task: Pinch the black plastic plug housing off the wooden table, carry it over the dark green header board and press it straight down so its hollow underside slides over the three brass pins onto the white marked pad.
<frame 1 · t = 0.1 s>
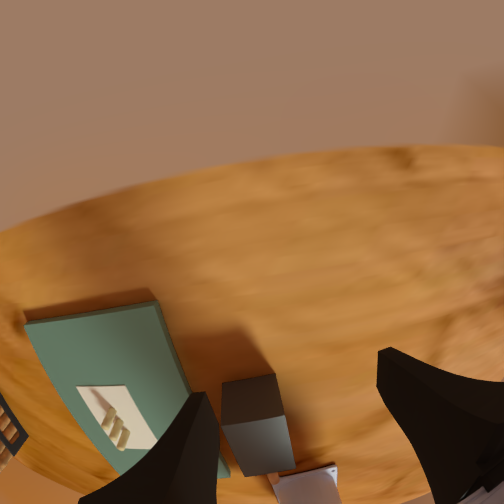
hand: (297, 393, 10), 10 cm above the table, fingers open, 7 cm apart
plug housing: (257, 409, 22), on the table
header board: (131, 413, 22), on the table
ammunition clip: (7, 407, 22), on the table
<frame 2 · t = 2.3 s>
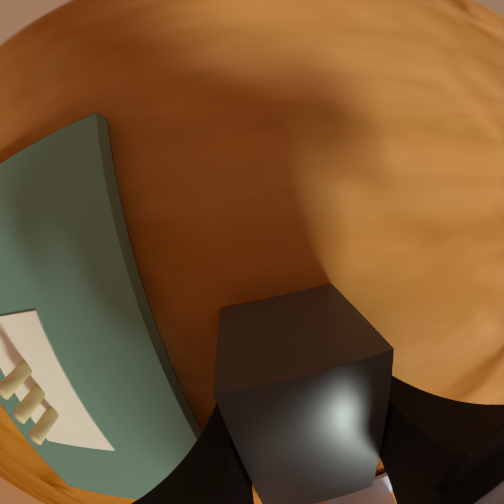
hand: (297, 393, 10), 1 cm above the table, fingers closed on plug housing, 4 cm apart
plug housing: (291, 373, 12), on the table, touching gripper
header board: (60, 380, 11), on the table
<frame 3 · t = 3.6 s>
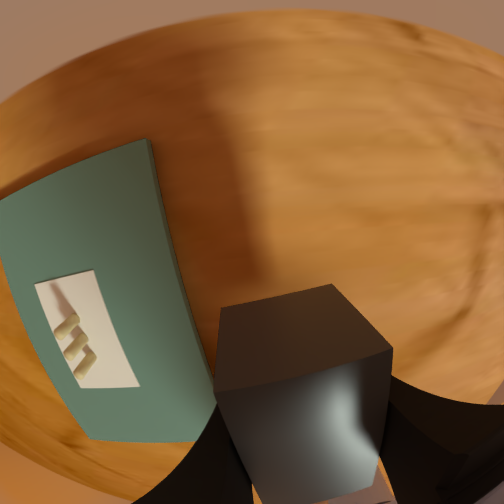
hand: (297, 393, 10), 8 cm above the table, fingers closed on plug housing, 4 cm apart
plug housing: (291, 372, 12), point 6 cm above the table, touching gripper
header board: (100, 329, 17), on the table
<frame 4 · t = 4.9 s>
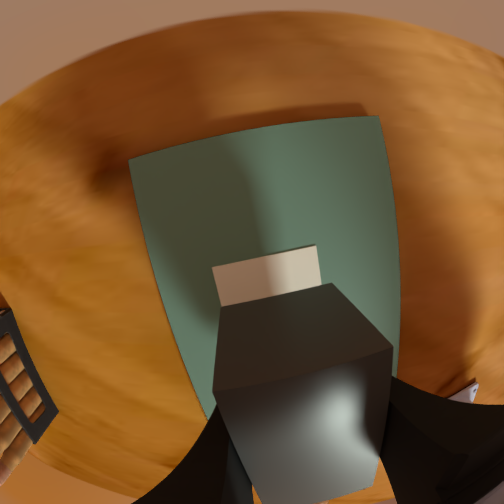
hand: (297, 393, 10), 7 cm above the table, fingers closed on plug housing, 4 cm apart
plug housing: (290, 372, 12), point 5 cm above the table, touching gripper
header board: (292, 318, 17), on the table
ammunition clip: (28, 363, 17), on the table
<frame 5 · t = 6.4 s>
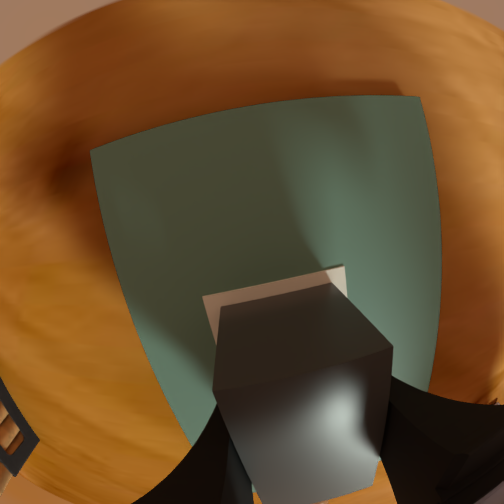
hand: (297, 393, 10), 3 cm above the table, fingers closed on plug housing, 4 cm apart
plug housing: (290, 372, 12), point 1 cm above the table, touching gripper, header board
header board: (307, 355, 13), on the table
ammunition clip: (3, 388, 13), on the table
when the fingers open (3 cm above the table, at t = 7.3 s): plug housing stays where it is, resting on header board.
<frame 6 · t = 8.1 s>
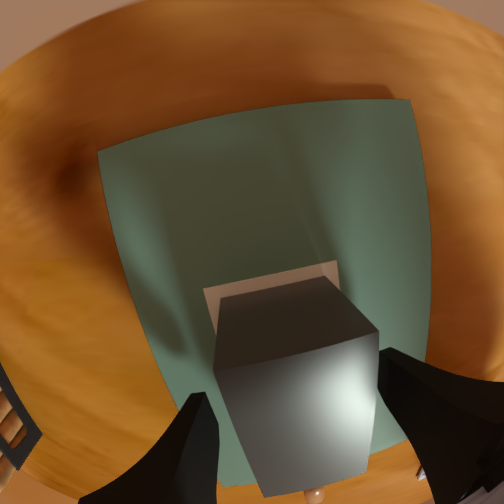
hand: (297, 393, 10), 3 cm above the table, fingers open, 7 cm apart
plug housing: (287, 361, 12), point 1 cm above the table, touching header board
header board: (303, 346, 14), on the table
ammunition clip: (7, 383, 14), on the table
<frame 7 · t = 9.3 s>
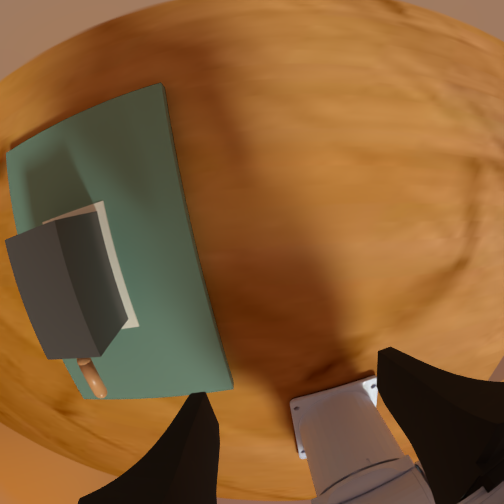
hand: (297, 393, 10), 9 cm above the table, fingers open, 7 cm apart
plug housing: (85, 272, 17), point 1 cm above the table, touching header board
header board: (103, 267, 18), on the table
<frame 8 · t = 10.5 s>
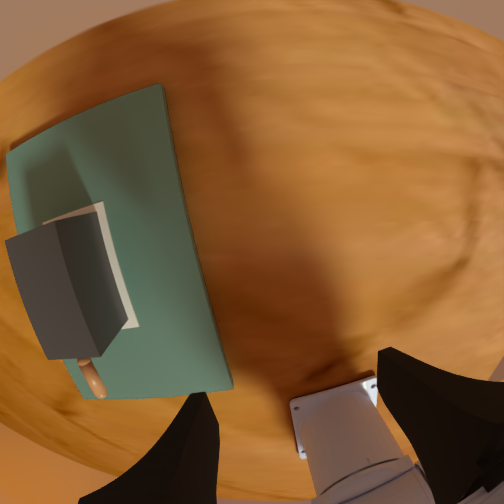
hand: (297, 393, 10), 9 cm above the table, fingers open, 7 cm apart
plug housing: (85, 273, 17), point 1 cm above the table, touching header board
header board: (103, 267, 18), on the table
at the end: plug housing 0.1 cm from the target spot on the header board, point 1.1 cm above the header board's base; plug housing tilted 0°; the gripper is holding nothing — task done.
